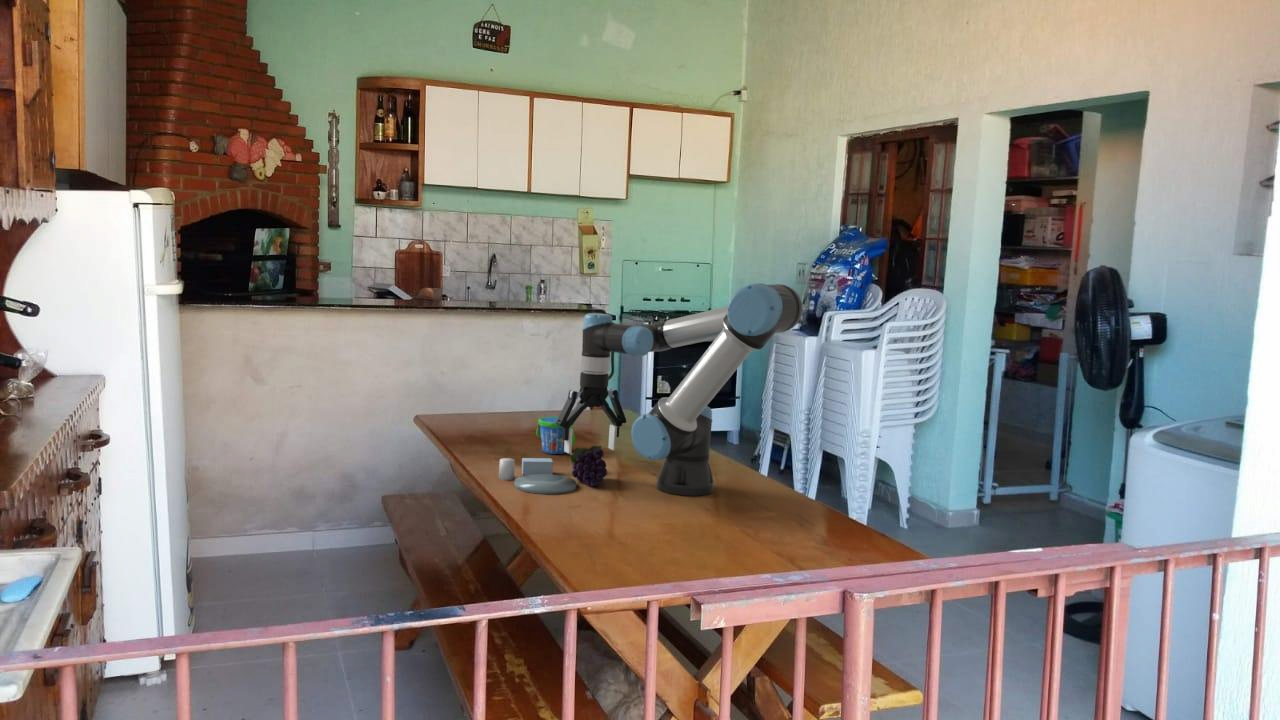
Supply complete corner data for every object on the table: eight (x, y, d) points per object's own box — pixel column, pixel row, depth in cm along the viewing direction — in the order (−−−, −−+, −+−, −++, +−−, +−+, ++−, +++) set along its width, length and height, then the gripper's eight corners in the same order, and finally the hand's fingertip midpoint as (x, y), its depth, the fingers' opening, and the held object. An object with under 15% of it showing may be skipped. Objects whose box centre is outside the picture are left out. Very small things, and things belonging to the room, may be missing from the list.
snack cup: (526, 448, 287) (527, 416, 286) (554, 445, 293) (556, 413, 292) (554, 459, 275) (556, 425, 274) (583, 456, 281) (585, 422, 280)
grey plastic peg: (516, 479, 249) (517, 460, 248) (502, 480, 247) (503, 462, 246) (510, 475, 252) (510, 457, 252) (496, 477, 250) (497, 458, 249)
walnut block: (594, 472, 262) (595, 454, 262) (582, 474, 258) (583, 457, 258) (580, 468, 265) (581, 451, 265) (569, 471, 261) (570, 453, 261)
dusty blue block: (552, 476, 256) (552, 461, 255) (522, 475, 254) (523, 461, 253) (550, 472, 259) (551, 458, 259) (521, 472, 258) (522, 458, 257)
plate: (587, 490, 241) (587, 486, 241) (531, 496, 233) (531, 491, 232) (558, 476, 255) (558, 472, 254) (504, 481, 246) (504, 476, 246)
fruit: (582, 500, 244) (563, 473, 256) (620, 492, 248) (599, 465, 260) (581, 466, 239) (562, 440, 252) (620, 458, 243) (599, 433, 256)
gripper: (627, 369, 257) (622, 445, 260) (546, 370, 244) (541, 450, 246) (642, 373, 251) (637, 450, 253) (559, 375, 237) (555, 456, 240)
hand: (590, 450), depth 250 cm, fingers open, 13 cm apart
